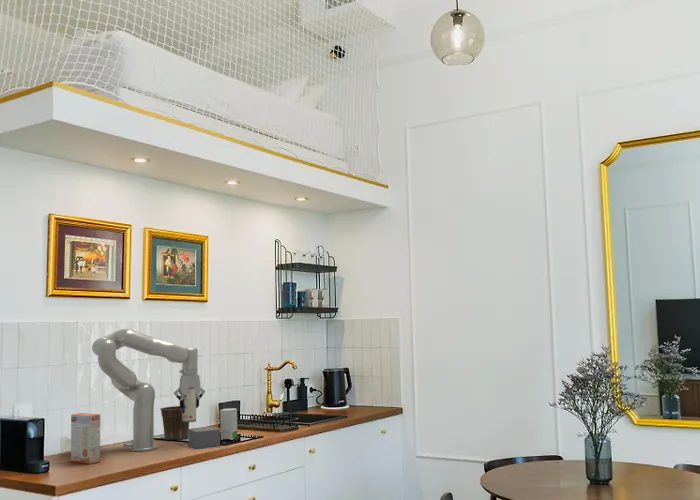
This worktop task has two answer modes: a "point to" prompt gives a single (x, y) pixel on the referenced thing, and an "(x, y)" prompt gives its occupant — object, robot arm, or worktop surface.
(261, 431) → the worktop surface
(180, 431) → the plant pot
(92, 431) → the cracker box
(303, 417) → the worktop surface
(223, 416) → the skincare box
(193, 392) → the aerosol can
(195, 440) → the stand
